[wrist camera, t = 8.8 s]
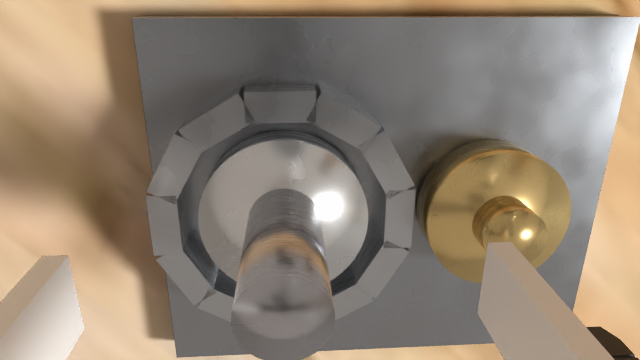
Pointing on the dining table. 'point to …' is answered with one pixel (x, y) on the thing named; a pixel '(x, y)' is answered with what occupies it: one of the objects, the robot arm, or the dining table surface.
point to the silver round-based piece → (283, 238)
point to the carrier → (389, 153)
